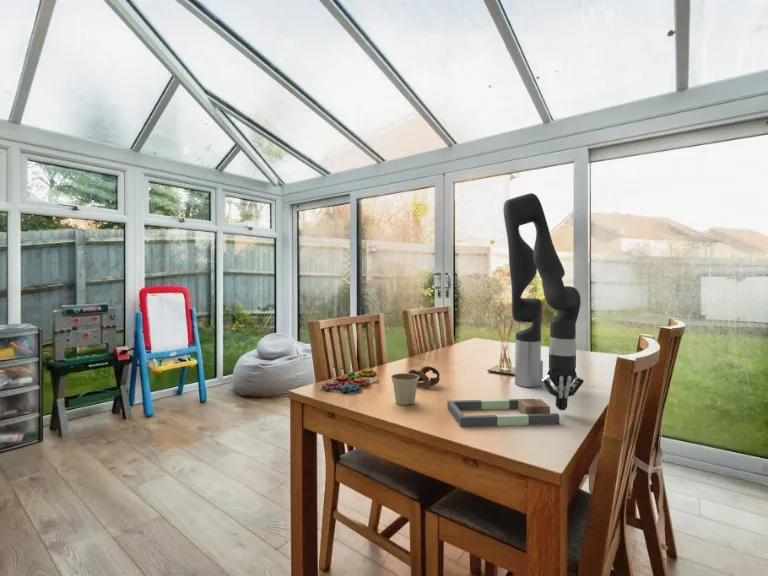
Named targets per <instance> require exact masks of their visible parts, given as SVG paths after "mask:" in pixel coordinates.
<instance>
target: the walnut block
mask: <svg viewBox="0 0 768 576" xmlns="http://www.w3.org/2000/svg"><path fill="white" fill-rule="evenodd" d="M517 399H518V409H517V412H518V413H519V412H520V413H521V414H551V413H550V412H551V406H550V405H549V404H547V402H545V401H544V400H542V399H541V398H538V399H537V398H536V399H535V398H517ZM520 413H519V414H520Z"/></svg>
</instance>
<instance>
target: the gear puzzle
mask: <svg viewBox="0 0 768 576" xmlns="http://www.w3.org/2000/svg"><path fill="white" fill-rule="evenodd" d="M374 376H377V370H373V369H372V368H364V369H361V371H358V372H357V373H355V372H354V371H351V372H348V373H345V374H343V375H341V376H337V377H336V378H334V379H332V380H329V381H326V382H325V383H323V384H322V385H321V387H320V388H319V391H322V392H326V391H329V393H330V392H331V393H337V394H344V393H343V392H346V393H345V394H347V395H350V394H351V395H352V396H353V395H354V396H355V395H357V394H361V393H363V392H364V391H363V390H365V389H371V388H372V387H373V386H372V385H374V384H379V383H380V381H379V379H378V378H375V377H374ZM356 393H357V394H356Z"/></svg>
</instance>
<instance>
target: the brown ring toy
mask: <svg viewBox="0 0 768 576" xmlns="http://www.w3.org/2000/svg"><path fill="white" fill-rule="evenodd" d="M430 371H431V372H432V374H435V375H436V377H428V375H426V374H427V373H429V372H430ZM408 373H410V374H416V375H418V376H419V379H418V383H420V382H424V383H425V384H424V388H425V389H430V387H433V386H435V385H438V384H439V382H440V381H441V379H440V376H441V375H440V372H439V370H438V369H437V368H435V367H433V366H428V365H427V366H422V367H421V369H419V370H416V369H410V370H408Z"/></svg>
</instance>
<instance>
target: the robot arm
mask: <svg viewBox="0 0 768 576" xmlns="http://www.w3.org/2000/svg"><path fill="white" fill-rule="evenodd" d="M502 210H503V219H504V225H505V231H506V236H507V238H506V239H507V247H508V262H509V263H508V265H509V274H510V286H511V314H512V319H513V320H514V321H515V322H520V323H531V324H532V325H531V326H529V327H528V328H525V329H523V330H519V331H516V333H515V349H514V350H515V352H514V353H515V354H514V355H515V357H514V358H515V359H514V361H515V364H514V365H515V367H514V384H515V385H517V386H519V387H525V388H539V387H543V386H544V388H546V391H548V393H549V394H550V395H552V396H554V397H555V406H556V408H557V409H558V410H559V411H566V409H568V398H569V397H571V396H572V397H573V396H574V395H576V393H577V392H578V390H579V389H580V388H581V386H582V385H583V384H584V382H585V381H584V380H585V379H582V378H580V377H579V376H578V375H577V372H576V368H577V342H576V339H577V338H576V335H577V334H576V331H577V330H576V329H577V327H576V324H577V321H578V317H579V313H580V309H581V305H582V304H581V303H582V302H581V301H582V300H581V296H580V295H581V294H580V292H579V290H578V289H577V288H575V287H574V286H568V285H566V286H565V284H564V280H563V278H564V276H565V274H566V271H565V268H564V266H563V264H562V261H561V260H560V257H559V256H558V253H557V251H556V249H555V246H554V244H553V239H552V236H551V232H550V229H549V225H548V222H547V218H546V214H545V212H544V209H543V205H542V203H541V201H540V199H539V197H538V196H537V194H535V193H533V192H532V193H530V192H529V193H526V194H522V195H519V196H515V197H512V198H509V199H507V200H505V201H504V203H503V209H502ZM530 223H533V224H534V228H535V232H536V233H535V234H536V235H535V242H534V245H533V248H532V247H531V246H530V245H529V244H528V243H527V242H526V241H525V240H524V239H523V238H522V236H521V234H520V229H519V228H520V226H524V225H526V224H530ZM537 273H538V274H539V277H540V278H541V285H542V286H541V287H542V291H543V295H544V299H545V301H546V303H547V304H548V306H549V307H550V308H551V309H553V310H555V311H556V315H555V317H554V318H552V319H551V320H550V324H549V325H550V326H549V342H548V371H547V374H546V376H545V377H543V374H544V373H543V372H544V369H543V368H544V361H543V360H542V359H541V358H542V321H543V320H542V319H543V317H542V316H543V303H542V302H543V301H542V300H541V299H539V298H531V297H530V298H529V297H528V298H526V297H522V295H523V293H524V292H525V289H526V288H528V286H529V285H530V284H531V282H533V280H534V279H535V277H536V275H537ZM552 384H553V386H552Z"/></svg>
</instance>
